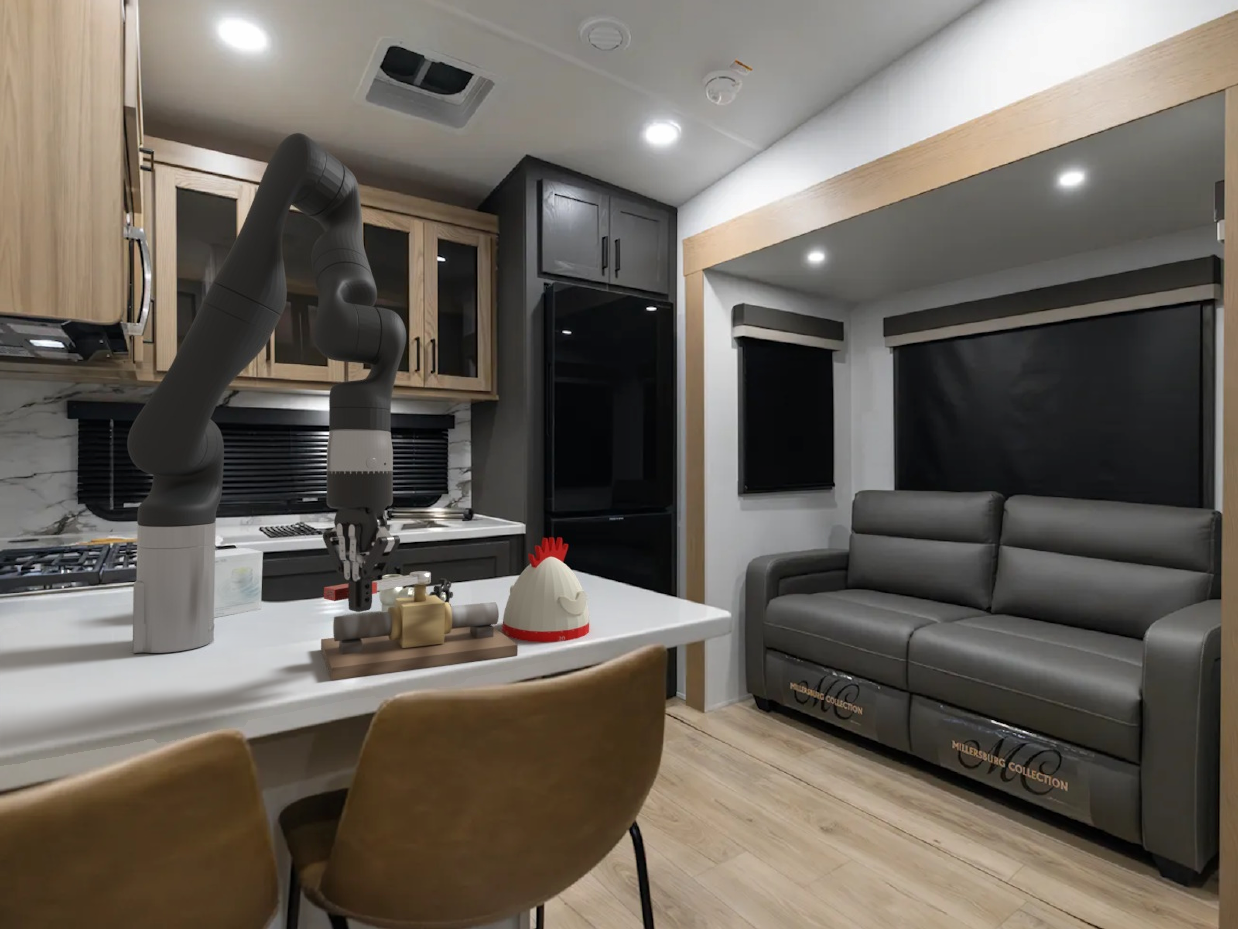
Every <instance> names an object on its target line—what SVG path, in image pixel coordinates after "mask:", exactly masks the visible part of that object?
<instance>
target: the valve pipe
mask: <svg viewBox="0 0 1238 929" xmlns="http://www.w3.org/2000/svg"><path fill="white" fill-rule="evenodd" d="M413 588H414V597H407V598H395V607H389V608H388V612H382V611H381V612H373V613H360V614H349V615H339V616H336V615H335V616H334V617H333V625H332V626H333V627H332V630H333V631H332V632H333V637H330V638H329V637H327V638H321V640H320V644H321V645H320V651H321V654H322V656H323V659H324V663H325V666H326V669H327V672H328V674H329V678H330V681H334V680H335V681H336V680H344V679H351V678H359V677H367V676H373V675H380V674H389V673H395V672H396V673H397V672H403V671H411V670H418V669H425V668H426V669H427V668H432V667H439V666H448V665H455V664H456V665H457V664H463V663H470V662H471V663H472V662H477V661H487V660H493V659H501V658H502V659H503V658H507V657H516V656H518V648H519V647H518V644H517V643H516V642H515V641H514V640H512V638H511V639H510V637H509V636H507V635H505V634H504V632H501V631H500V630H498V629H497V628H496V627H495V626H493V625H497V624H498V622H499V614H500V612H499V607H498V604H497V603H496V602H495V601H494V602H483V603H472V604H469V603H468V604H459V605H451V606H450V604H451V603H450V602H449V603H448V602H443V601H442V600H441V599H439V598H438V597H437V596H436V595H432V596H426V592H427V584H425V585H413Z"/></svg>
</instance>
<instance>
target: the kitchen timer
mask: <svg viewBox="0 0 1238 929" xmlns="http://www.w3.org/2000/svg"><path fill="white" fill-rule="evenodd" d="M534 549H535V550H534V551H535V555H534V554H531V553H528V560H529V565H528V566H526V567H525V568H524V570H522V572H521V573H520V574H519V576H518V578H517V579H515V580H516V581H515V582H514V584H512V585H510V588H509V596H508V599H507V601H506V606H505V608H504V612H503V618H502V633H503V634H504V635H505V636H507V637H508V638H511V639H514V640H519V641H524V642H525V641H526V642H533V643H534V642H535V643H538V642H539V643H556V642H564V641H565V642H566V641H571V640H577V639H580V638H582V637H584V636H587V635H588V633H590V613H589V607H588V603H587V600H588V598H587V596H588V595H587V593H586V591H585V590H584V589H583V587H582V585H581V582H580V581H579V579H578V578H577V575H576V574H575V573H574V572H573V570H572V569H571V568H570V567H569V566H568V565H567V564H566V563H564V561H565V558H566V555H567V551H568V549H569V544H568V543H563V538H562V537H559V536H558V537H557V538H556V541H555V538H554V537H552V536H549V538H547V537H542V539H541V546H540V545H535V546H534Z"/></svg>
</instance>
